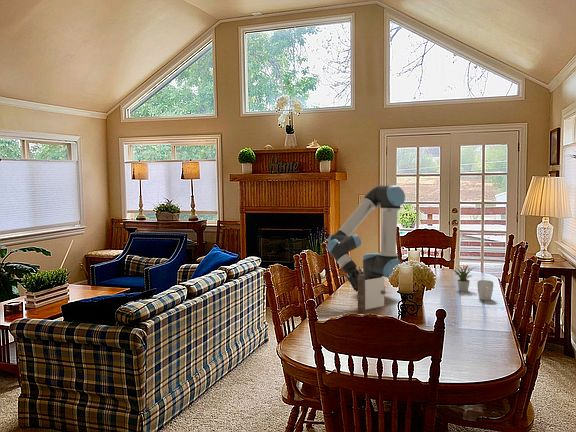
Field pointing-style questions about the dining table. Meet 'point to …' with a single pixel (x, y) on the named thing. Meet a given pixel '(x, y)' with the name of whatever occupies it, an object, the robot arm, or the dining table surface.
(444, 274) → the dining table surface
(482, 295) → the mug
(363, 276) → the door post
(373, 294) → the door
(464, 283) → the house plant
